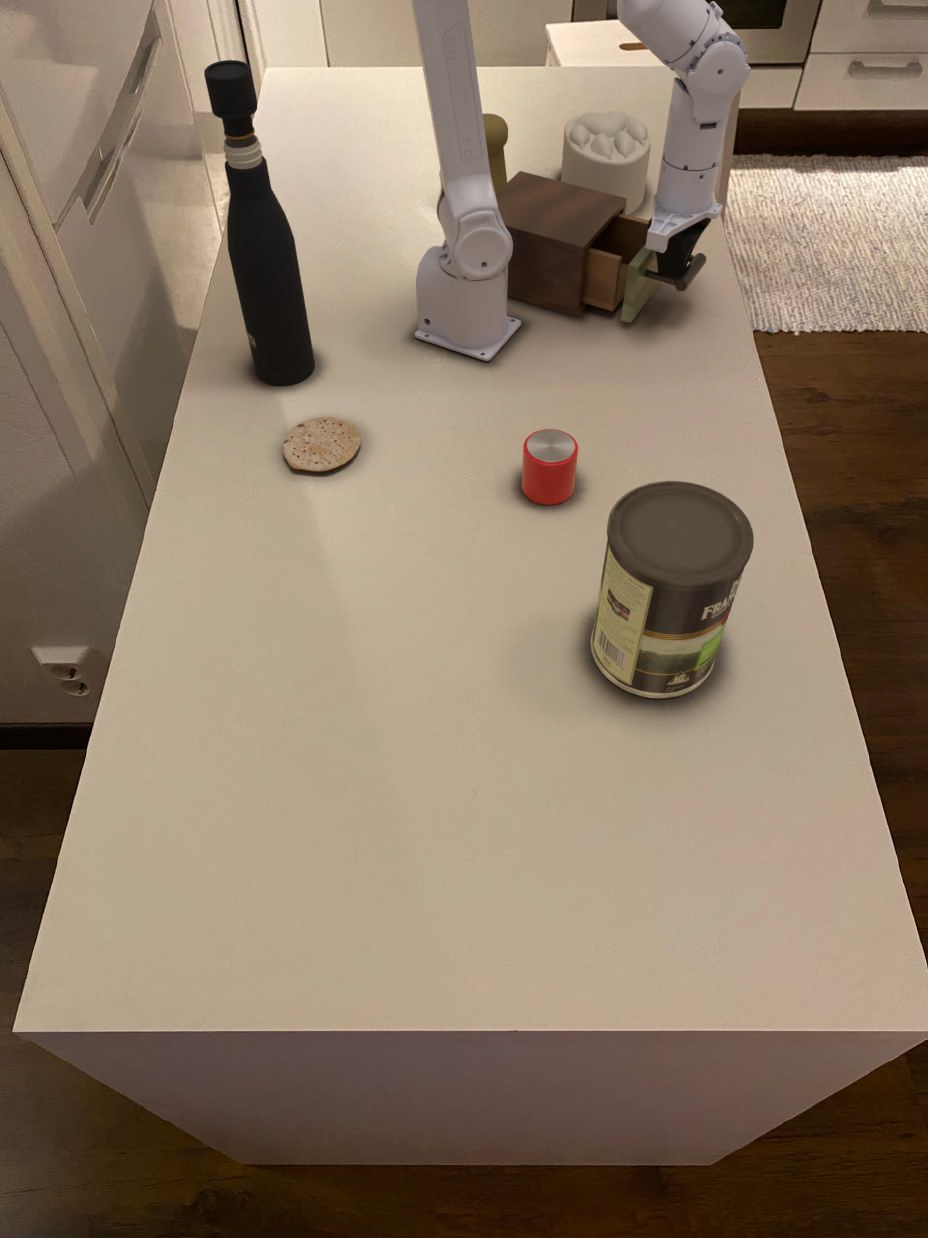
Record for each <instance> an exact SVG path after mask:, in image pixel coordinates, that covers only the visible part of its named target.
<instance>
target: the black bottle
mask: <svg viewBox="0 0 928 1238" xmlns="http://www.w3.org/2000/svg"><path fill="white" fill-rule="evenodd" d="M203 75H204V80H205V85H206V90H207V94H208V99H209V103H210V108H211V113H212V114H213V115H214V117H216V118H219V119H221V122H222V125H223V126H222V127H223V135H224V137H225V139H224V140H223V151H224V153H225V154H224V158H225V161H224V171H225V176H226V180H227V184H228V189H229V202H228V211H227V218H226V219H227V220H226V238H227V240H226V241H227V252H228V256H229V260H230V265H231V269H232V273H233V278H234V283H235V287H236V292H237V296H238V300H239V303H240V304H239V305H240V308H241V309H240V310H241V313H242V318H243V322H244V326H245V331H246V336H247V340H248V345H249V348H250V354H251V358H252V361H253V366H254V371H255V373H256V376H257V377H258V379H259V380H261V381H262V382H264V383H266V384H268V385H272V386H278V387H279V386H280V387H283V386H292V385H296V384H299V383H301V382H303V381H304V380H306V379H308V378H309V377H310V376H311V375H312V374H313V373H314V371H315V367H316V364H315V361H316V360H315V355H314V350H313V344H312V343H313V342H312V337H311V331H310V325H309V319H308V313H307V307H306V301H305V295H304V290H303V289H304V288H303V284H302V277H301V271H300V265H299V258H298V252H297V245H296V240H295V237H294V233H293V230H292V227H291V225H290V222H289V220H288V217H287V215H286V213H285V211H284V209H283V207H282V205H281V203H280V201H279V199H278V197H277V196H276V194H275V192H274V190H273V187H272V184H271V179H270V173H269V167H268V162H267V159H266V158H265V156H264V155H263V150H262V143H261V142H260V140H259V137H258V135H256V134H255V133H256V131H255V127H254V124H253V119H252V115H253V114H255V113H256V112H257V110H258V102H257V101H258V100H257V97H256V91H255V86H254V85H255V84H254V80H253V73H252V68H251V66H250V65H249V64H248V63H247V62H245V61H242V60H236V59H226V60H225V59H224V60H220V61H216V62H213V63H211V64H209V65H208V66H207V67H206V68H205V69H204V72H203Z"/></svg>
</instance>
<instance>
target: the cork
mask: <svg viewBox="0 0 928 1238" xmlns="http://www.w3.org/2000/svg"><path fill="white" fill-rule="evenodd" d="M482 114H483V122H484V129H485V137H486V144H487V152H488V159H489V167H490V174H491V178H492V183H493V187H494V191H495V194H496V193H497V192H498V191H499V190H500V189H501V188H502V187H503V186H504V185H505V184H506V183H508V178H507V177H508V175H507V165H506V157H505V146H506V144H507V142H508V139H509V126H508V123H507V122H506V120H505V118H503V117H502V116H500V115H498V114H495V113H482Z"/></svg>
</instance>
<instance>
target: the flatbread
mask: <svg viewBox="0 0 928 1238" xmlns="http://www.w3.org/2000/svg"><path fill="white" fill-rule="evenodd" d="M361 442H362V439H361V433H360V431H359V429H358V427H357V426H356V425H355V424H354V423H352V422H350V421H347V420H344V419H341V418H337V417H332V416H324V417H323V416H321V417H317V418H313V419H309V420H304V421H302V422H300V423H297V424H296V425H294V426H293V428H292V429H291V430H290V431H289V432H288V434H287V435H286V437H285V439H284V442H283V444H282V454H283V456H284V459H285V460H286V461H287V463H288V465H289V466H290V468H293V469H294V470H302V471H308V472H327V471H330V470H331V471H332V470H333V469H337V468H339V467H341V466H343V465H344V464H347V463H348V462H349V461H350V460H352V459H353V458H354V457H355V455H356V453H357V452H358V450H359V449H360V446H361Z"/></svg>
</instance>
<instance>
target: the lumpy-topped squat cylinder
mask: <svg viewBox="0 0 928 1238" xmlns="http://www.w3.org/2000/svg"><path fill="white" fill-rule="evenodd" d="M562 143H563V144H562V157H561V158H562V159H561V173H560V181H561V182H565V183H569V184H573V185H577V186H581V187H584V188H588V189H592V190H596V191H600V192H604V193H608V194H612V195H615V196H619V197H623V198H627V202H626V209H625V214H626V215H630V216H631V215H632V214H633V213H634V212H636V211H637V210H638V209H639V208H640V206H641V205H642V203H643V201H644V197H645V191H646V185H647V177H648V169H649V164H650V163H649V162H650V156H651V147H652V143H651V139H650V135H649V133H648V128H647V126H646V124H645V123H644V122H643V121H640V120H639V119H638V118H637V117H635V116H632V115H628V114H625V113H624V112H622V111H619V110H615V111H607V112H587V113H584V114H582V115H580V116H579V115H578V116H575V117H572V118H570V119H569V120H567V122H566V123H565V125H564V129H563V142H562Z"/></svg>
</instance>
